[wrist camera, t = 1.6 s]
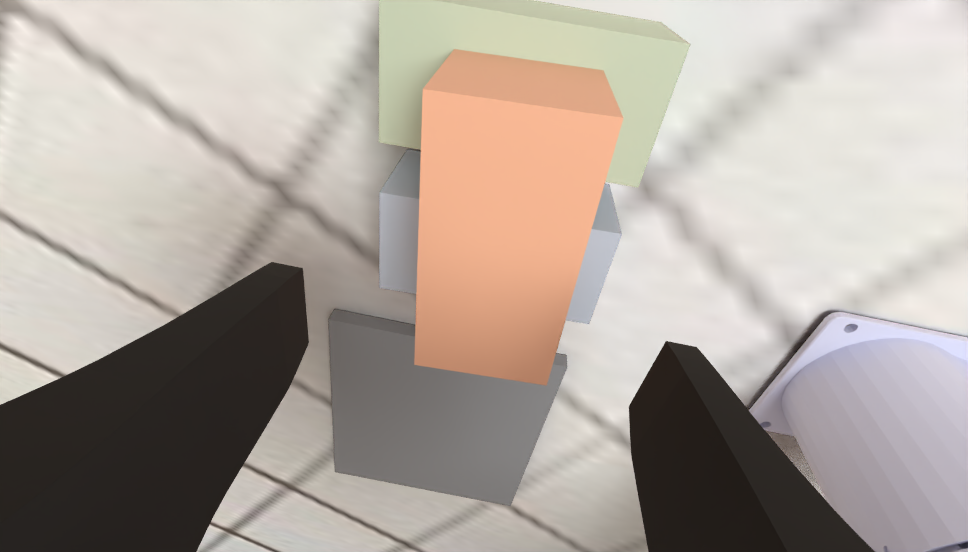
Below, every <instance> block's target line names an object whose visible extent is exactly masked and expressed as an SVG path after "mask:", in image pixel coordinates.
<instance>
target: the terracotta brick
mask: <svg viewBox="0 0 968 552" xmlns="http://www.w3.org/2000/svg"><path fill="white" fill-rule="evenodd" d="M622 122H623V115H622V113H621V111H620V108H619V106H618V104H617V101H616V99H615V97H614V94H613V92H612V89H611V87H610V85H609V82H608V80H607V78H606V75H605V73H604V70H598V69H591V68H584V67H577V66H570V65H563V64H556V63H549V62H542V61H535V60H528V59H521V58H514V57H507V56H500V55H493V54H486V53H479V52H472V51H465V50H458V49H454V50H453V51H452V53H451V54H450V55H449V56H448V58H447V59H446V60H445V61H444V63H443V64H442V65H441V66H440V68H439V69H438V70H437V71H436V73H435V74H434V75H433V77H432V78H431V79H430V80H429V82H428V83H427V84H426V85H425V87H424V88H423V95H422V128H421V161H420V194H419V227H418V260H417V293H416V326H415V359H414V365H418V366H425V367H431V368H438V369H444V370H450V371H457V372H463V373H470V374H476V375H482V376H489V377H495V378H501V379H508V380H514V381H521V382H527V383H533V384H540V385H546V386H547V382H548V379H549V376H550V372H551V369H552V365H553V362H554V358H555V355H556V351H557V348H558V344H559V341H560V337H561V334H562V330H563V327H564V323H565V320H566V316H567V313H568V309H569V306H570V303H571V299H572V296H573V292H574V289H575V285H576V282H577V278H578V275H579V271H580V268H581V264H582V261H583V257H584V254H585V250H586V247H587V243H588V240H589V236H590V233H591V230H592V226H593V223H594V219H595V216H596V212H597V209H598V205H599V202H600V198H601V195H602V191H603V188H604V184H605V181H606V177H607V174H608V170H609V167H610V163H611V160H612V157H613V153H614V150H615V146H616V143H617V139H618V136H619V132H620V129H621V125H622Z"/></svg>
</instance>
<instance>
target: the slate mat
mask: <svg viewBox="0 0 968 552" xmlns="http://www.w3.org/2000/svg"><path fill="white" fill-rule="evenodd" d="M328 320H329V344H330V368H331V392H332V416H333V439H334V463H335V472H338V473H343V474H348V475H353V476H358V477H363V478H369V479H374V480H379V481H384V482H389V483H394V484H399V485H404V486H410V487H415V488H420V489H425V490H430V491H435V492H440V493H446V494H451V495H456V496H461V497H466V498H471V499H476V500H481V501H487V502H492V503H497V504H502V505H507V506H511V503H512V501H513V498H514V496H515V494H516V491H517V489H518V486H519V484H520V481H521V479H522V476H523V474H524V472H525V469H526V467H527V464H528V462H529V459H530V457H531V454H532V452H533V450H534V447H535V445H536V442H537V440H538V437H539V435H540V432H541V430H542V428H543V425H544V423H545V420H546V418H547V415H548V413H549V410H550V408H551V406H552V403H553V401H554V398H555V396H556V393H557V391H558V388H559V386H560V383H561V381H562V379H563V376H564V374H565V371H566V369H567V355H562V354H557V353H556V355H555V358H554V362H553V365H552V369H551V372H550V376H549V379H548V382H547V386H546V385H540V384H533V383H527V382H521V381H514V380H508V379H501V378H495V377H489V376H482V375H476V374H470V373H463V372H457V371H450V370H444V369H438V368H431V367H425V366H418V365H414V359H415V326H416V325H412V324H407V323H402V322H397V321H392V320H387V319H382V318H377V317H372V316H367V315H362V314H357V313H352V312H347V311H342V310H337V309H334V311H333V312H332V314H331V316H330V318H329V319H328Z"/></svg>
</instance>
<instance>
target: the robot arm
mask: <svg viewBox="0 0 968 552" xmlns="http://www.w3.org/2000/svg"><path fill="white" fill-rule="evenodd" d="M849 324H850V325H849ZM847 325H849V326H847ZM845 326H846V327H845ZM308 343H309V340H308V328H307V315H306V303H305V290H304V278H303V268H299V267H294V266H289V265H284V264H279V263H274V262H271V263H269V264H268V265H266V266H264V267H262V268H260V269H259V270H257V271H255V272H254V273H252V274H250V275H248V276H247V277H245V278H243V279H242V280H240V281H238V282H237V283H235V284H233V285H232V286H230V287H228V288H227V289H225V290H223V291H222V292H220V293H218V294H217V295H215V296H213V297H212V298H210V299H208V300H207V301H205V302H203V303H201V304H200V305H198V306H196V307H195V308H193V309H191V310H189V311H188V312H186V313H184V314H183V315H181V316H179V317H177V318H176V319H174V320H172V321H170V322H169V323H167V324H165V325H163V326H161V327H160V328H158V329H156V330H154V331H152V332H150V333H148V334H146V335H144V336H143V337H141V338H139V339H137V340H135V341H133V342H131V343H129V344H128V345H126V346H124V347H122V348H120V349H118V350H116V351H114V352H112V353H111V354H109V355H107V356H105V357H103V358H101V359H99V360H97V361H95V362H93V363H91V364H89V365H87V366H85V367H83V368H81V369H79V370H77V371H75V372H72V373H70V374H68V375H66V376H64V377H62V378H60V379H58V380H55V381H53V382H51V383H49V384H46V385H44V386H42V387H40V388H38V389H35V390H33V391H31V392H29V393H26V394H24V395H22V396H20V397H18V398H15V399H13V400H11V401H8V402H6V403H4V404H1V405H0V552H196V551H197V549H198V547H199V545H200V543H201V541H202V539H203V537H204V535H205V533H206V530H207V528H208V526H209V524H210V522H211V520H212V518H213V516H214V514H215V512H216V511H217V509H218V507H219V505H220V503H221V502H222V500H223V498H224V496H225V494H226V492H227V491H228V489H229V487H230V486H231V484H232V482H233V481H234V479H235V477H236V476H237V474H238V472H239V471H240V469H241V467H242V466H243V464H244V462H245V461H246V459H247V458H248V456H249V454H250V453H251V451H252V449H253V448H254V446H255V444H256V443H257V441H258V439H259V438H260V436H261V434H262V433H263V431H264V429H265V428H266V426H267V424H268V423H269V421H270V419H271V418H272V416H273V414H274V413H275V411H276V409H277V408H278V406H279V404H280V402H281V401H282V399H283V397H284V396H285V394H286V392H287V390H288V389H289V387H290V385H291V382H292V380H293V378H294V376H295V374H296V371H297V369H298V367H299V365H300V362H301V360H302V358H303V355H304V353H305V350H306V348H307V346H308ZM629 418H630V440H631V455H632V461H633V468H634V473H635V479H636V485H637V490H638V496H639V502H640V507H641V512H642V518H643V523H644V529H645V534H646V540H647V545H648V551H649V552H968V338H967V337H963V336H958V335H953V334H948V333H943V332H938V331H933V330H928V329H923V328H918V327H913V326H908V325H903V324H899V323H894V322H889V321H884V320H879V319H874V318H869V317H864V316H859V315H854V314H849V313H844V312H835V313H831V314H829V315H828V316H827V317H825V318H824V320H823V321H822V322H821V323H820V324H819V326H818V327H817V328H816V329H815V330H814V332H813V333H812V334H811V335H810V337H809V338H808V339H807V340H806V341H805V343H804V344H803V345H802V346H801V348H800V349H799V350H798V351H797V352H796V354H795V355H794V356H793V357H792V358H791V360H790V361H789V362H788V363H787V365H786V366H785V367H784V368H783V369H782V371H781V372H780V373H779V374H778V375H777V377H776V378H775V379H774V380H773V382H772V383H771V384H770V385H769V386H768V388H767V389H766V390H765V391H764V393H763V394H762V395H761V396H760V397H759V399H758V400H757V401H756V402H755V403H754V405H753V406H752V407H751V408H750V410H748V409H747V408H746V407H745V405H744V404H743V403H742V402H741V400H740V399H739V398H738V397H737V396H736V394H735V393H734V392H733V391H732V389H731V388H730V387H729V386H728V384H727V383H726V382H725V381H724V379H723V378H722V377H721V376H720V374H719V373H718V372H717V371H716V369H715V368H714V367H713V366H712V365H711V363H710V362H709V361H708V360H707V359H706V357H705V356H704V355H703V354H702V353H701V352H700V350H699V349H698V348H697V347H693V346H688V345H683V344H678V343H673V342H668V341H666V342H665V344H664V346H663V348H662V349H661V351H660V353H659V355H658V356H657V358H656V360H655V362H654V363H653V365H652V367H651V369H650V370H649V372H648V374H647V376H646V377H645V379H644V381H643V383H642V384H641V386H640V388H639V390H638V391H637V393H636V395H635V397H634V398H633V400H632V402H631V404H630V406H629ZM766 431H770V432H775V433H780V434H785V435H790V436H795V438H796V440H797V443H798V445H799V447H800V449H801V451H802V453H803V455H804V457H805V459H806V461H807V463H808V465H809V467H810V469H811V471H812V473H813V475H814V477H815V479H816V481H817V483H818V485H819V487H820V489H821V491H822V493H823V495H824V497H825V499H826V500H825V499H824V498H823V497H822V496H821V495H820V493H819V492H818V491H817V490H816V489H815V488H814V487H813V486H812V485H811V483H810V482H809V481H808V480H807V479H806V478H805V477H804V476H803V475H802V474H801V472H800V471H799V470H798V469H797V468H796V467H795V465H794V464H793V463H792V462H791V461H790V460H789V458H788V457H787V456H786V455H785V454H784V453H783V451H782V450H781V449H780V448H779V447H778V446H777V444H776V443H775V442H774V441H773V440H772V438H771V437H770V436H769V435H768V434H767V432H766Z"/></svg>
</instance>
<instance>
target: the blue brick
mask: <svg viewBox="0 0 968 552" xmlns="http://www.w3.org/2000/svg"><path fill="white" fill-rule="evenodd" d="M420 161H421V152H419V151H413V150H406V152H405V153H404V155H403V157H402V158H401V160H400V161H399V163H398V164H397V166H396V167H395V169H394V171H393V172H392V174H391V175H390V177H389V178H388V180H387V181H386V183H385V185H384V186H383V188H382V189H381V191H380V192H379V288H383V289H389V290H395V291H401V292H406V293H412V294H416V293H417V260H418V227H419V194H420ZM621 235H622V233H621V229H620V225H619V221H618V217H617V213H616V209H615V205H614V201H613V197H612V193H611V189H610V185H609V184H604V188H603V191H602V195H601V198H600V202H599V205H598V209H597V212H596V216H595V219H594V223H593V226H592V230H591V233H590V236H589V240H588V243H587V247H586V250H585V254H584V257H583V261H582V264H581V268H580V271H579V275H578V278H577V282H576V285H575V289H574V292H573V296H572V299H571V303H570V306H569V309H568V313H567V316H566V320H568V321H574V322H579V323H585V324H589V323H590V320H591V317H592V315H593V312H594V309H595V306H596V304H597V301H598V298H599V295H600V293H601V290H602V287H603V285H604V282H605V279H606V276H607V274H608V271H609V268H610V265H611V263H612V260H613V257H614V255H615V252H616V249H617V246H618V244H619V241H620V238H621Z"/></svg>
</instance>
